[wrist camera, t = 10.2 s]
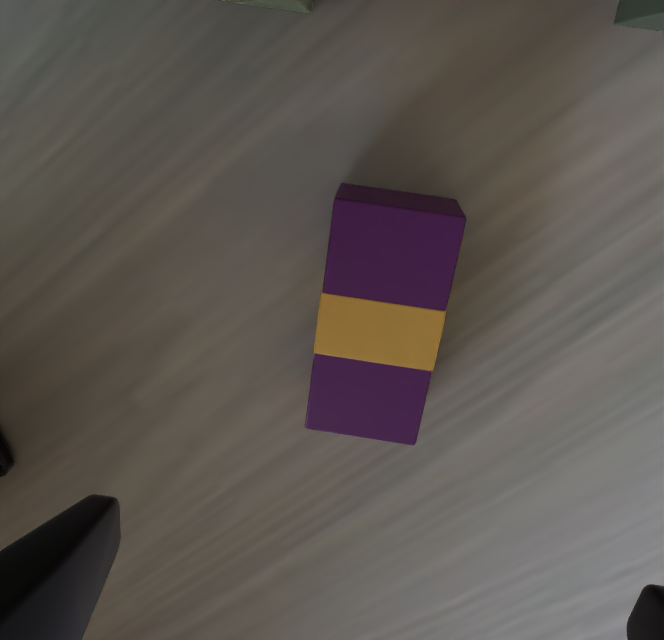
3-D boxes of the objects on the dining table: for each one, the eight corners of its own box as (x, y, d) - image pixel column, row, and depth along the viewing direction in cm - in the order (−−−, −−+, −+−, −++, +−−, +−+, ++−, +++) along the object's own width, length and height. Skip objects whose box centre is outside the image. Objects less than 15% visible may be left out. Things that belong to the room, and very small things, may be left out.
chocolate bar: (339, 181, 17) (333, 197, 15) (457, 199, 17) (468, 217, 15) (312, 390, 20) (303, 429, 18) (412, 406, 20) (416, 447, 18)
